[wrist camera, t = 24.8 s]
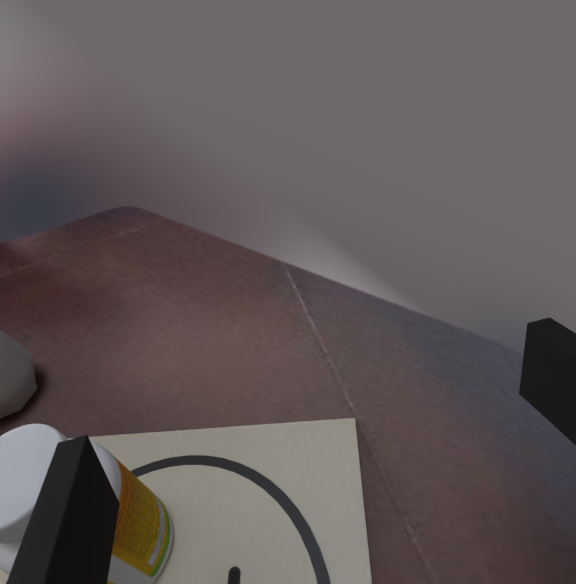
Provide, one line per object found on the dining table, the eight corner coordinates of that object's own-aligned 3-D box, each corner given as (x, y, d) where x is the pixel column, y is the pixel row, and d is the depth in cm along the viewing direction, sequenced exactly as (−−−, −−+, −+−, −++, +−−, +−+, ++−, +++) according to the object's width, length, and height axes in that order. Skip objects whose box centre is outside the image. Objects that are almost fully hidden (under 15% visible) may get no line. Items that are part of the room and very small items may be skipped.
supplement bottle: (144, 473, 25) (52, 382, 18) (195, 546, 22) (106, 467, 15) (58, 548, 23) (-81, 476, 16) (101, 641, 20) (-51, 598, 13)
